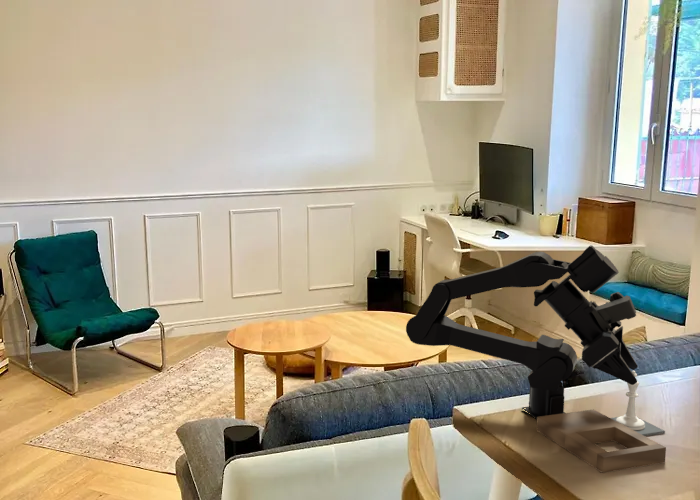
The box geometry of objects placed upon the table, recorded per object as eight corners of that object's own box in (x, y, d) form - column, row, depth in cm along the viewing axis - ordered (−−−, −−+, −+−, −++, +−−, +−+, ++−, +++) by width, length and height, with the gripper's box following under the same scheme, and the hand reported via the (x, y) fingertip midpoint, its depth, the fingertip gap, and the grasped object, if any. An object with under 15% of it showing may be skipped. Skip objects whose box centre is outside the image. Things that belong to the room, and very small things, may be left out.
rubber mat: (597, 421, 128) (597, 419, 128) (632, 416, 130) (632, 414, 130) (628, 438, 120) (628, 436, 120) (664, 433, 123) (665, 430, 123)
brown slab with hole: (536, 430, 123) (537, 416, 123) (592, 422, 127) (593, 409, 127) (602, 472, 107) (603, 457, 107) (664, 462, 111) (666, 447, 111)
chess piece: (650, 425, 125) (654, 371, 124) (635, 432, 122) (639, 377, 121) (624, 417, 129) (628, 365, 127) (610, 423, 126) (613, 370, 124)
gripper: (606, 289, 115) (675, 362, 112) (611, 272, 132) (671, 335, 130) (555, 330, 119) (620, 402, 117) (566, 309, 136) (623, 371, 134)
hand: (635, 375), depth 124 cm, fingers open, 9 cm apart
